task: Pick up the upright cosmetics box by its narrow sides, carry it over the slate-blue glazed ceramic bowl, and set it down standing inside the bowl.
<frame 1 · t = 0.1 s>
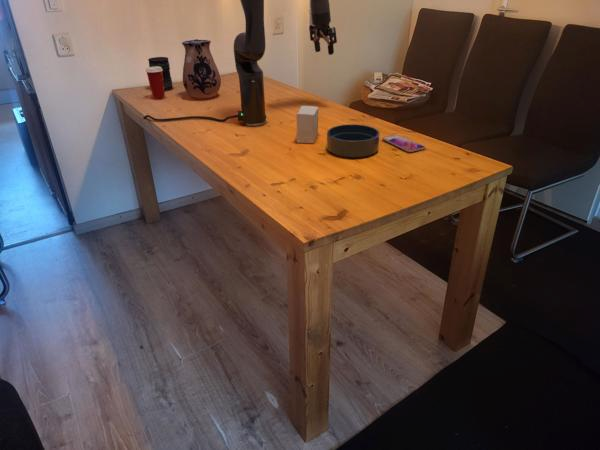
hand: (324, 53, 187), 22 cm above the table, tool pointing down, fingers open, 8 cm apart
cosmetics box: (307, 138, 163), on the table
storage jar: (163, 89, 232), on the table
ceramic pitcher: (203, 96, 218), on the table
smartphone: (402, 145, 155), on the table
bowl: (352, 149, 152), on the table
paper cup: (159, 98, 217), on the table
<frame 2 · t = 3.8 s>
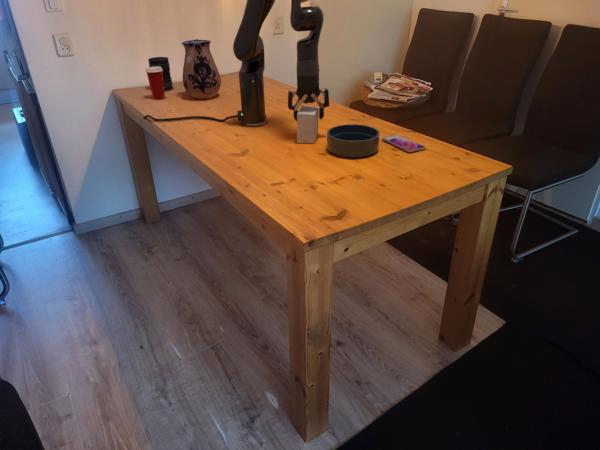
hand: (308, 119, 160), 7 cm above the table, tool pointing down, fingers open, 8 cm apart
cosmetics box: (308, 139, 163), on the table, touching gripper
everything else where it was.
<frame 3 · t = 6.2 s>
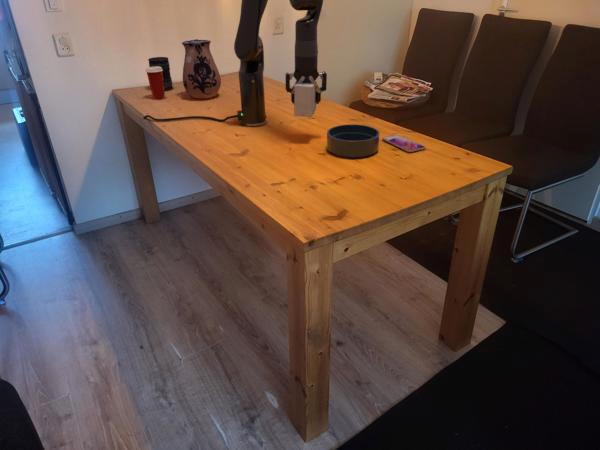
hand: (305, 103, 156), 13 cm above the table, tool pointing down, fingers closed on cosmetics box, 7 cm apart
cosmetics box: (305, 113, 158), point 9 cm above the table, touching gripper
everything else where it was.
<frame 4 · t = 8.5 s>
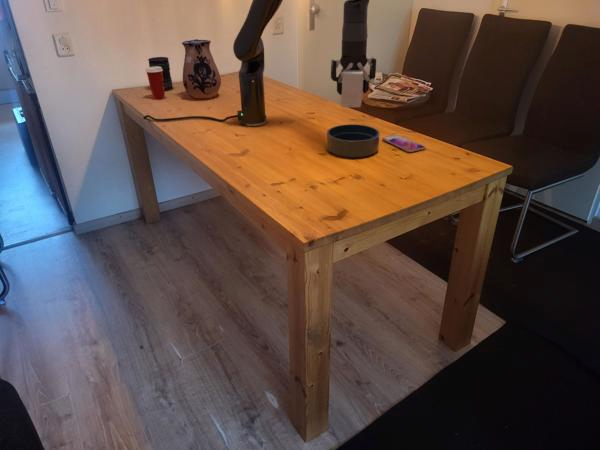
hand: (352, 93, 144), 19 cm above the table, tool pointing down, fingers closed on cosmetics box, 7 cm apart
cosmetics box: (352, 103, 145), point 15 cm above the table, touching gripper
everything else where it was.
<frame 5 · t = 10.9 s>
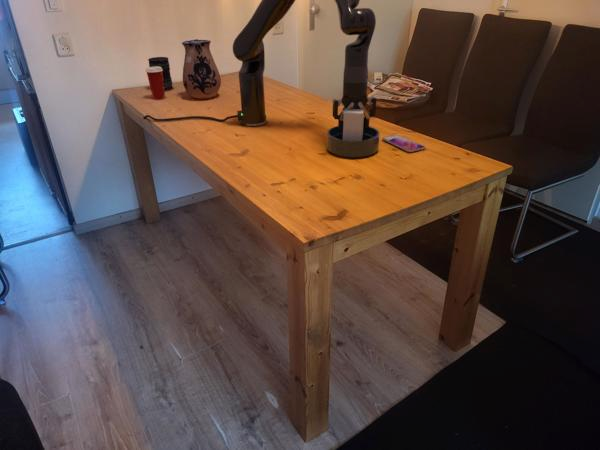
hand: (353, 130, 149), 7 cm above the table, tool pointing down, fingers closed on cosmetics box, 7 cm apart
cosmetics box: (353, 139, 151), point 3 cm above the table, touching gripper
everything else where it was.
when the fingers open (4 cm above the table, at t = 12.3 s): cosmetics box stays where it is, resting on bowl.
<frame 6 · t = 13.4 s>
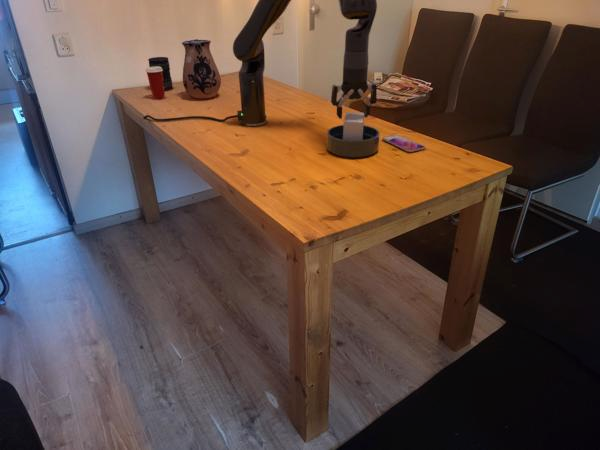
hand: (352, 117, 147), 11 cm above the table, tool pointing down, fingers open, 8 cm apart
cosmetics box: (352, 147, 152), point 1 cm above the table, touching bowl
everything else where it was.
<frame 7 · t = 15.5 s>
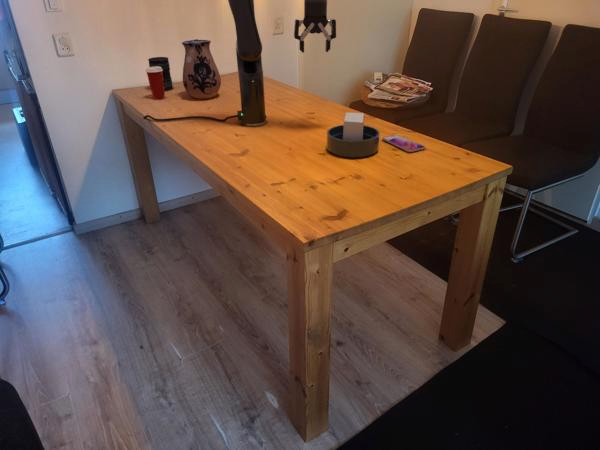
hand: (314, 52, 157), 28 cm above the table, tool pointing down, fingers open, 8 cm apart
nothing on the table moved.
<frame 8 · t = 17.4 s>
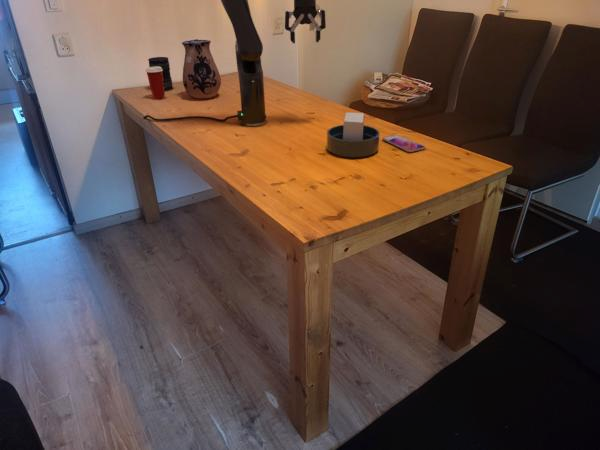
hand: (305, 42, 162), 30 cm above the table, tool pointing down, fingers open, 8 cm apart
nothing on the table moved.
at the end: cosmetics box inside the target area in the bowl (0.0 cm from its centre), point 0.6 cm above the bowl's base; the gripper is holding nothing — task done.
